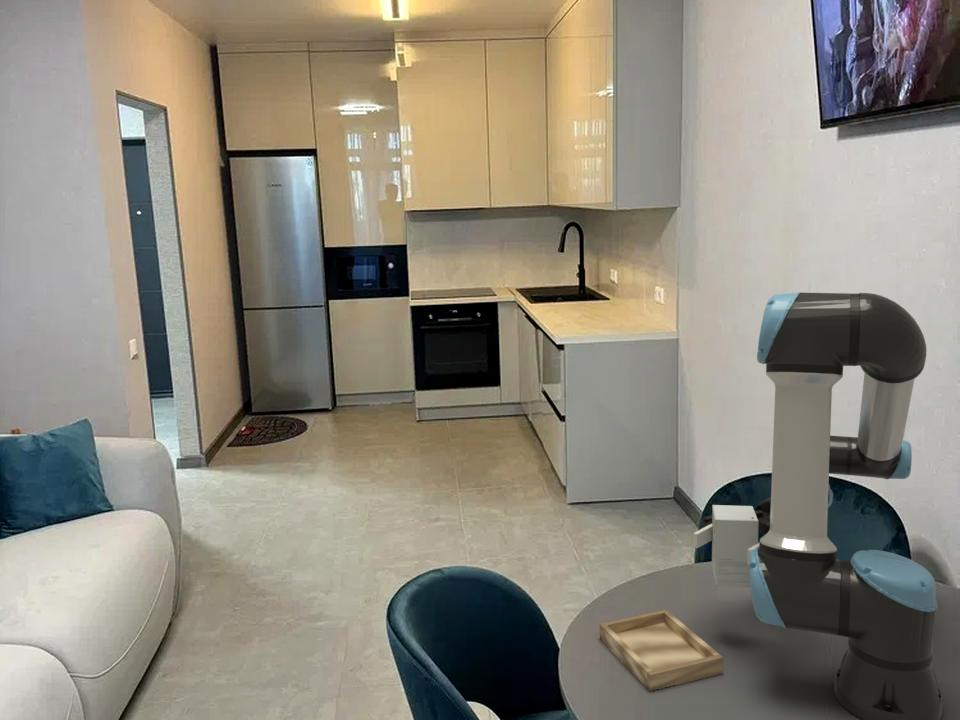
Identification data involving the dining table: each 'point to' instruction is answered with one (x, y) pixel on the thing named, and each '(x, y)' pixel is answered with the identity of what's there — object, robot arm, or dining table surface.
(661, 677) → the tray
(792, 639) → the dining table surface
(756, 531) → the supplement box
